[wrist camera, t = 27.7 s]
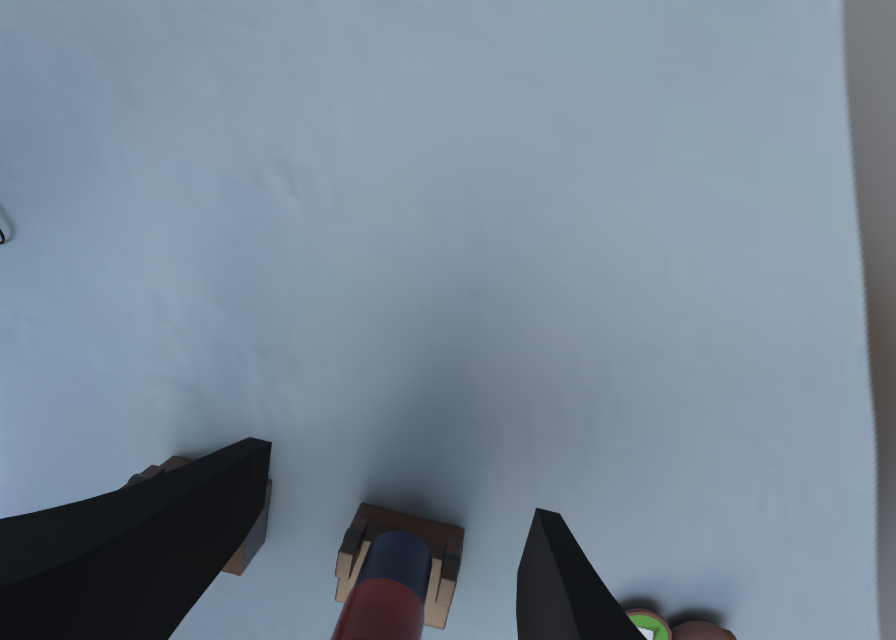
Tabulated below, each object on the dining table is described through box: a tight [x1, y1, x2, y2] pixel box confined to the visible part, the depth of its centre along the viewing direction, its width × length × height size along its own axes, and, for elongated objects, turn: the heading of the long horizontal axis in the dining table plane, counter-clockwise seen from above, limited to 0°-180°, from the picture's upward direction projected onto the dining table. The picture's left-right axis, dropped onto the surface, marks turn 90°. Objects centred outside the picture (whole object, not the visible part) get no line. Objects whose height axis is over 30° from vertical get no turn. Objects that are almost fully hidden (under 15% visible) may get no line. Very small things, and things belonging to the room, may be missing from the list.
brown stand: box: [335, 503, 465, 629], centre depth 21 cm, size 5×6×8 cm
